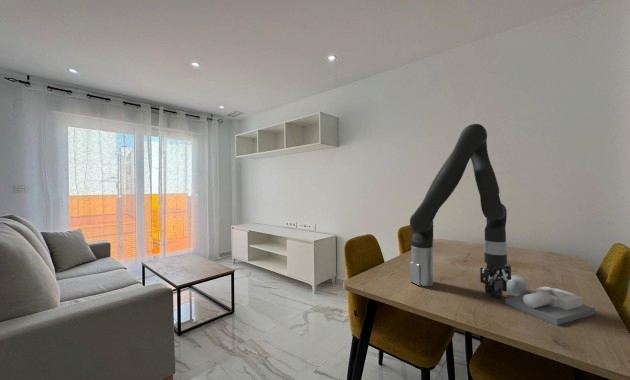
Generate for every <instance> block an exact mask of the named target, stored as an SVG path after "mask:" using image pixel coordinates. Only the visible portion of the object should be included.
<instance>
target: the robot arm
mask: <svg viewBox="0 0 630 380" xmlns="http://www.w3.org/2000/svg"><path fill="white" fill-rule="evenodd" d="M487 139H488V132H487V129H486V128H485V127H484V125H482V124H479V123H472V124H469V125H468V126H466V127H464V128H463V130H462V131H461V132H460V135H459V137H458V139H457V142H456V143H455V146H454V148H453V150H452V152H451V153H450V155H449V156H448V157H447V159H446V160H445V162H444V163H443V164H442V166H441V168H440V169H439V171H438V172H437V174H436V175H435V177H434V178H433V181H432V182H431V184H430V186H429V188H428V190H427V192H426V194H425V197H424V198H423V200H422V201H421V204H420V205H419V206H418V208H417V209H416V210H415V211H414V213H413V214H412V215H411V216H410V219H409V225H410V228H411V231H412V232H411V233H412V235H411V240H410V244H411V245H410V246H411V248H410V249H411V252H410V253H411V254H410V255H411V256H410V257H411V261H410V262H409V282H410V281H412V282H413V283H415V284H417V285H419V286H418V287H431V286H434V219H435V218H436V216H437V213H438V212H439V209H440V208H441V207H442V206H443V205H444V204H445V203H446V201H447V200H448V199H449V198H450V196H452V194H453V193H454V191H455V189H456V188H457V186H458V185H459V183H460V181H461V179H462V178H463V176H464V173H465V170H466V169H467V165H468V164H469V162H470V160H471V164H472V168H473V174H474V178H475V182H476V183H475V184H476V187H477V191H478V194H479V197H480V207H481V212H482V214H483V216H484V217H485V218H486V224H485V227H484V244H483V252H484V253H483V255H484V257H483V258H484V263H485V264H486V266H487V267H486V266H485V267H480V269H479V272H480V275H479V277H480V279H479V280H480V283H482V284H484V292H485V294H487V295H489V294H490V295H491V294H492V283H493V281H495V279H496V278H500V279H502V292H508V291H507V282H508V280H511V275H512V266H511V265H508V245H507V234H506V233H507V232H506V227H507V225H506V223H507V215H508V214H507V213H508V212H507V210H508V209H507V208H506V206H505V205H504V204H503V203H502V201H501V197H500V187H499V183H498V179H497V177H496V173H495V171H494V168H493V165H492V164H491V163H492V162H491V160H490V156H489V153H488V144H487V143H488V142H487ZM507 275H508V276H507ZM490 276H491V277H490ZM489 279H490V281H489ZM413 283H412V284H413ZM415 284H414V285H415ZM417 285H416V286H417ZM420 285H422V286H420Z"/></svg>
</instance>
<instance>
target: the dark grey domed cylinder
mask: <svg viewBox="0 0 630 380" xmlns="http://www.w3.org/2000/svg"><path fill="white" fill-rule="evenodd" d="M489 281H490V279H488V282H489ZM488 296H489V297H491V298H493V299H497V300H498V299H499V300H501V299H503V291H502V279H500V278H499V277H498V278H496V279H495V281H493V283H492V294H491V295H490V294H488Z"/></svg>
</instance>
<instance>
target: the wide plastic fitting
mask: <svg viewBox="0 0 630 380" xmlns="http://www.w3.org/2000/svg"><path fill="white" fill-rule="evenodd" d="M506 275H507V276H508V274H506ZM506 292H508V293H510V294H512V295H515V296H520V295H524V294H528V278H527V277H524V276H523V275H522V276H521V275H517V274H511V280H508V282H507V291H506Z"/></svg>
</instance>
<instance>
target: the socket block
mask: <svg viewBox="0 0 630 380" xmlns="http://www.w3.org/2000/svg"><path fill="white" fill-rule="evenodd" d="M582 301H583V297H581V296H579V295H576V294H575V293H573V292H569V291H565V290H562V289H559V288H556V287H554V288H552V287H548V286H547V285H546V286H541V287H536V288H532V289H530V292H529V293H527V294H524V295H514V296H512V297H511V296H510V297H507V298H505V304H506V305H508V306H510V307H512V308H514V309H517V310H520V311H522V312H523V313H527V314H529V315H531V316H534V317H536V318H538V319H541V320H543V321H546V322H548V323H550V324H553V325H555V326H560V325H563V324H566V323H570V322H573V321H577V320H580V319H584V318H587V317H590V316H594V315H596V308H595V307H592V306H589V305H587V304H583V302H582ZM593 314H594V315H593Z"/></svg>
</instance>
